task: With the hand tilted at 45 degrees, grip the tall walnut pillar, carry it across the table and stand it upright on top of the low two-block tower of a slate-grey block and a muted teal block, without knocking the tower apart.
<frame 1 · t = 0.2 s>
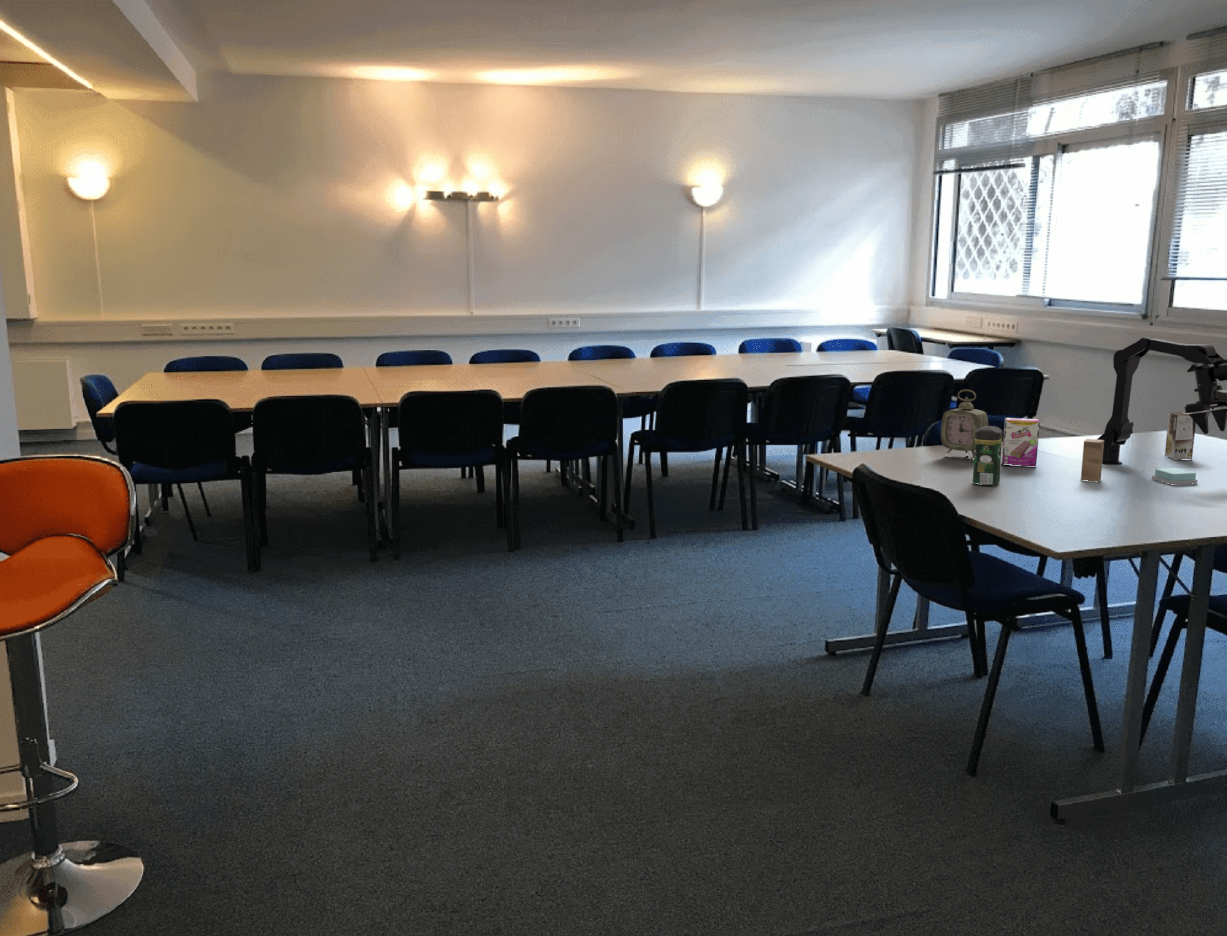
hand: (1214, 432, 309), 15 cm above the table, tool pointing down, fingers open, 9 cm apart
coffee jar: (985, 484, 313), on the table
tower top block: (1174, 477, 311), point 1 cm above the table, touching tower base block
walnut pillar: (1090, 480, 315), on the table
tower base block: (1173, 484, 311), on the table, touching tower top block
tabletop clock: (963, 458, 354), on the table
coffee box: (1178, 458, 347), on the table
candy bar box: (1018, 466, 339), on the table
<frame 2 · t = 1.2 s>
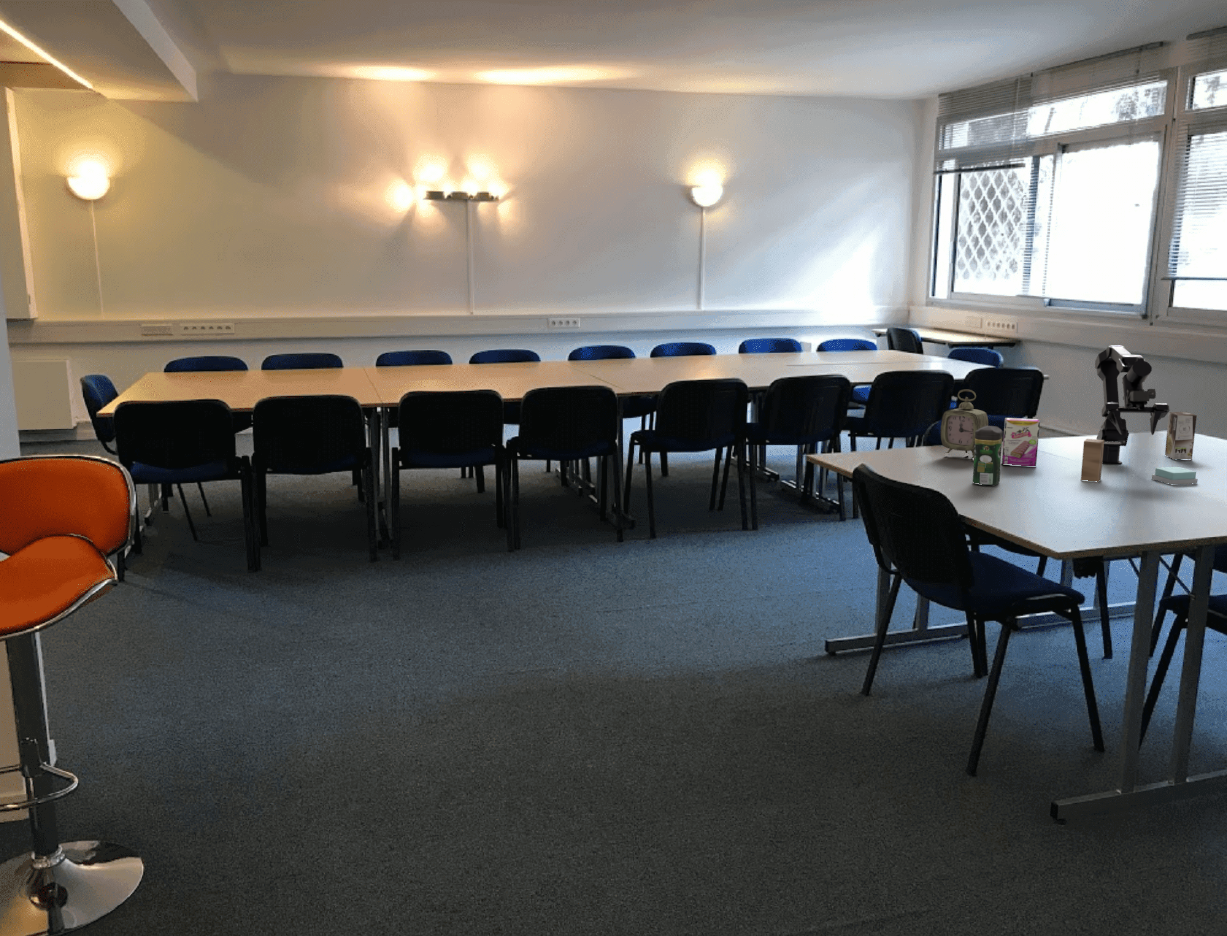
hand: (1137, 434, 312), 15 cm above the table, tool tilted 35°, fingers open, 9 cm apart
tower top block: (1174, 476, 311), point 2 cm above the table
tower base block: (1173, 483, 311), on the table
everything else where it was.
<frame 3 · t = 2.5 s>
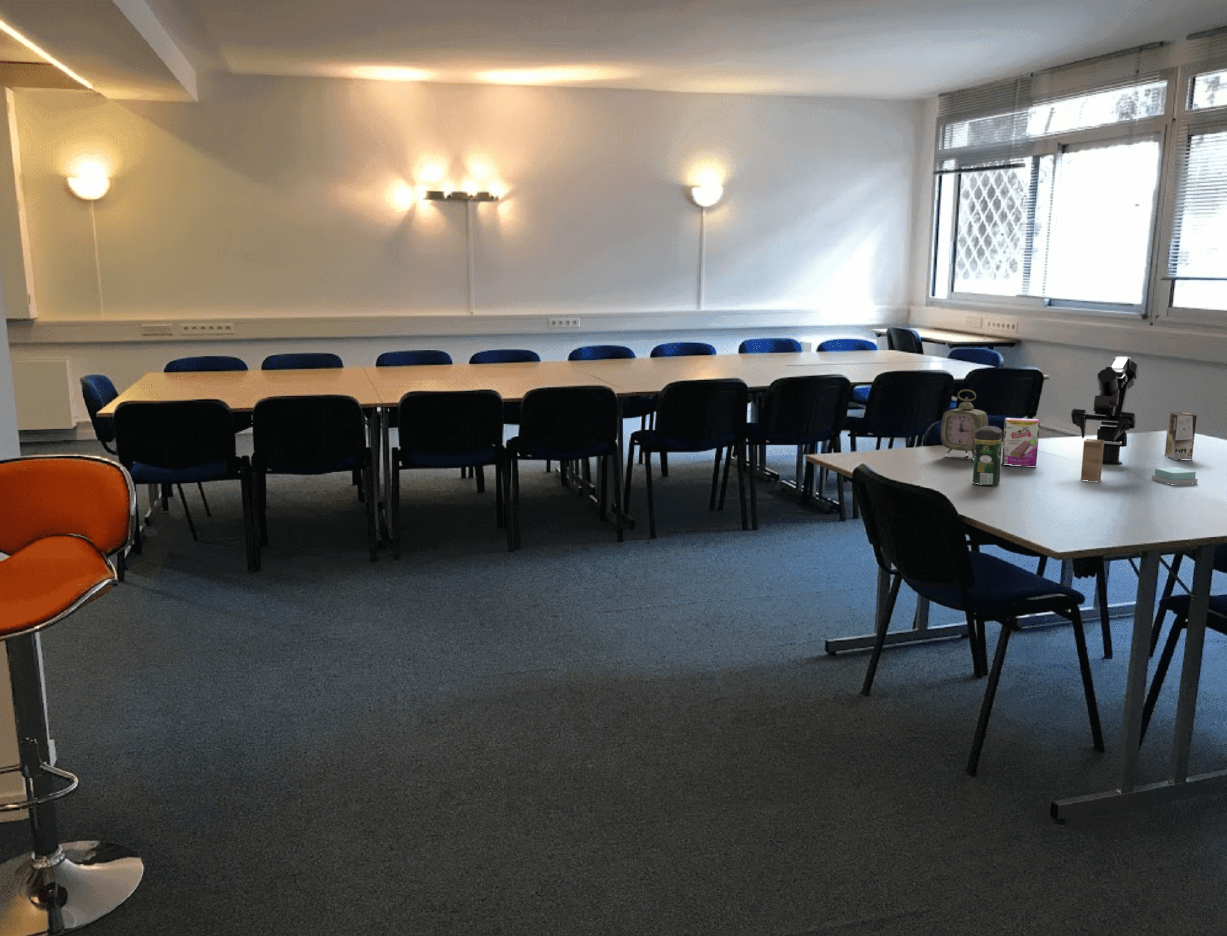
hand: (1097, 438, 318), 13 cm above the table, tool tilted 45°, fingers open, 9 cm apart
tower top block: (1174, 476, 311), point 2 cm above the table, touching tower base block
tower base block: (1173, 483, 311), on the table, touching tower top block
everything else where it was.
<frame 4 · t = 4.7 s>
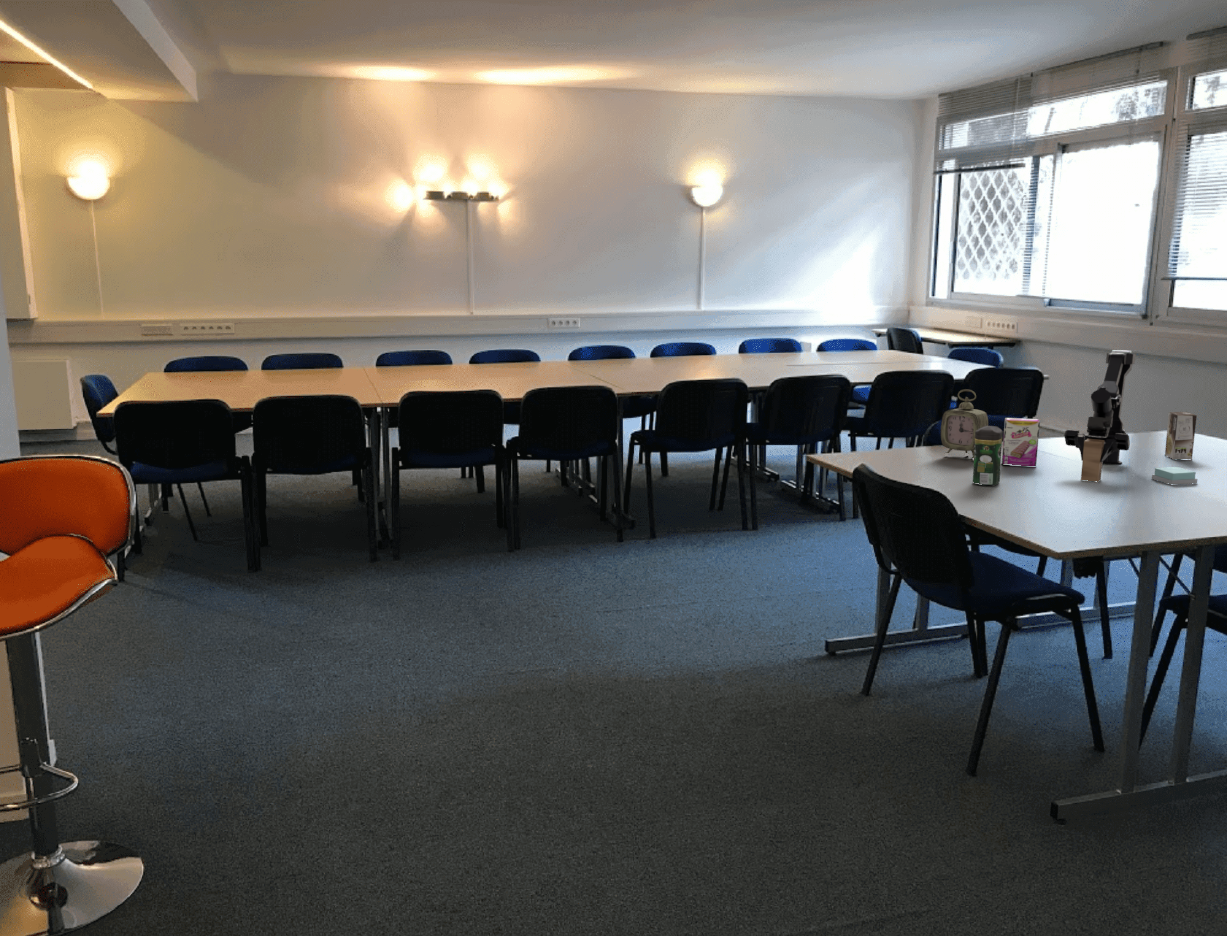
hand: (1091, 460, 313), 7 cm above the table, tool tilted 45°, fingers closed on walnut pillar, 5 cm apart
walnut pillar: (1090, 480, 315), on the table, touching gripper
everything else where it was.
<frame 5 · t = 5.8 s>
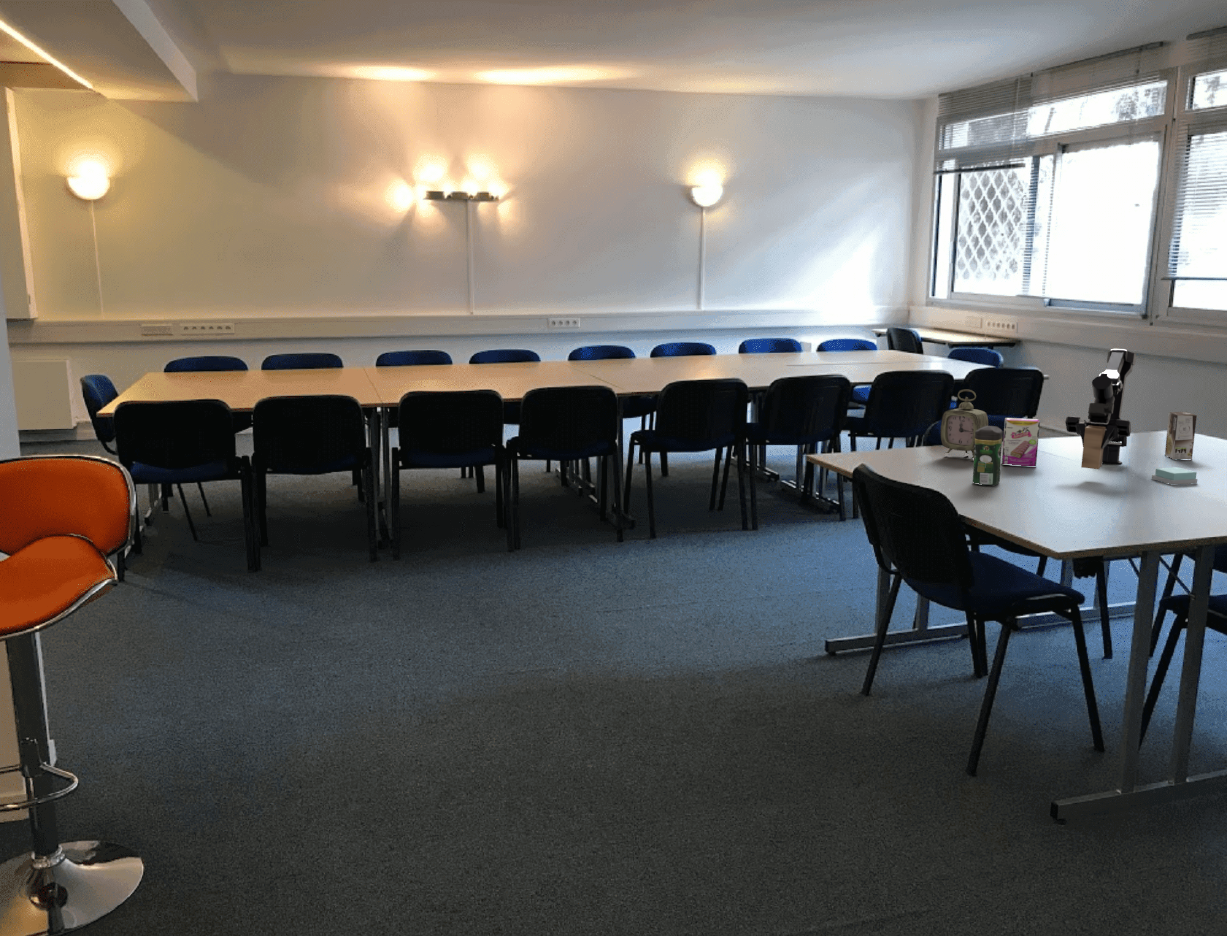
hand: (1092, 447, 312), 11 cm above the table, tool tilted 45°, fingers closed on walnut pillar, 5 cm apart
walnut pillar: (1091, 466, 314), point 4 cm above the table, touching gripper
everything else where it was.
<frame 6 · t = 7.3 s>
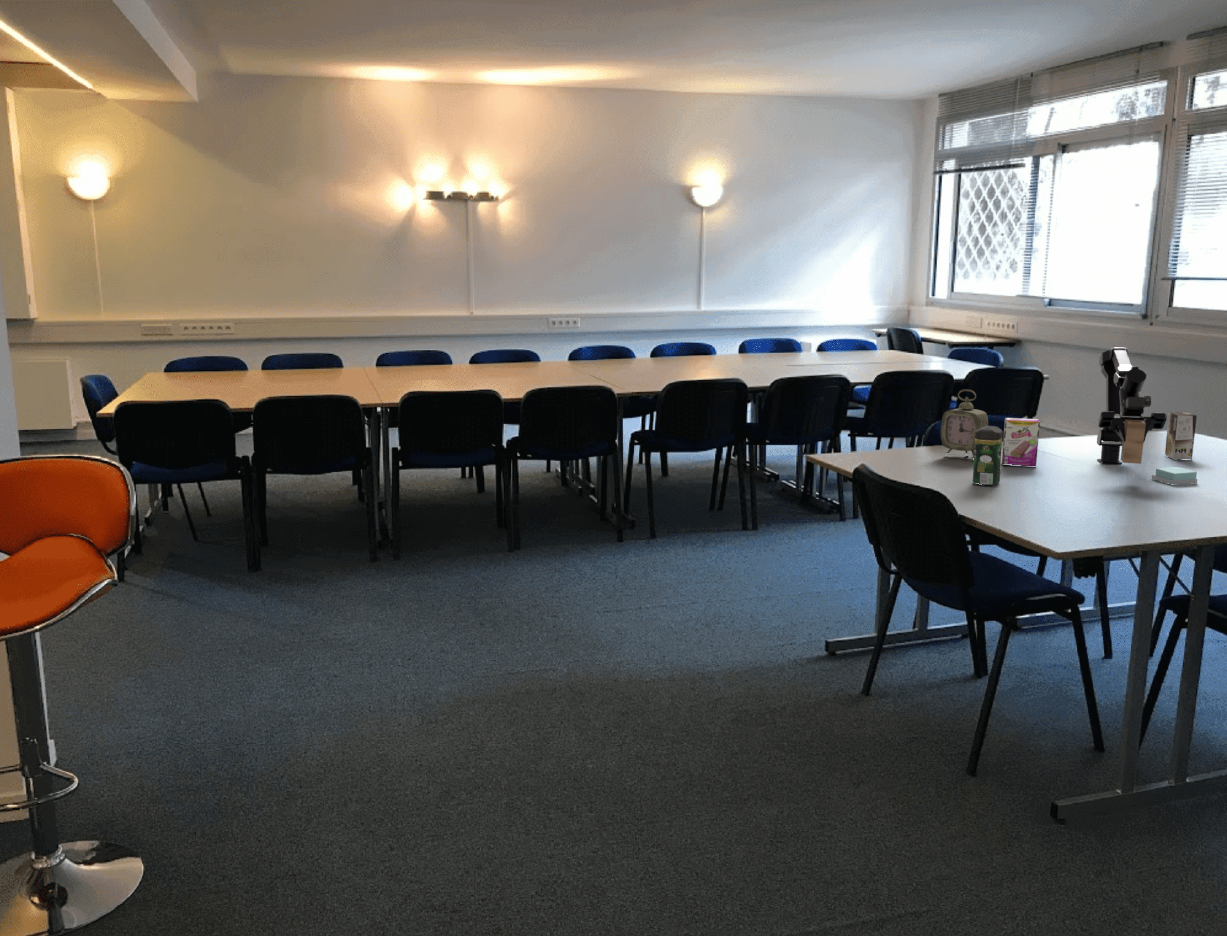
hand: (1134, 441, 307), 13 cm above the table, tool tilted 45°, fingers closed on walnut pillar, 5 cm apart
walnut pillar: (1130, 461, 310), point 7 cm above the table, touching gripper
everything else where it was.
when the fingers open (12 cm above the table, at t = 9.7 s): walnut pillar drops 2 cm, resting on tower top block.
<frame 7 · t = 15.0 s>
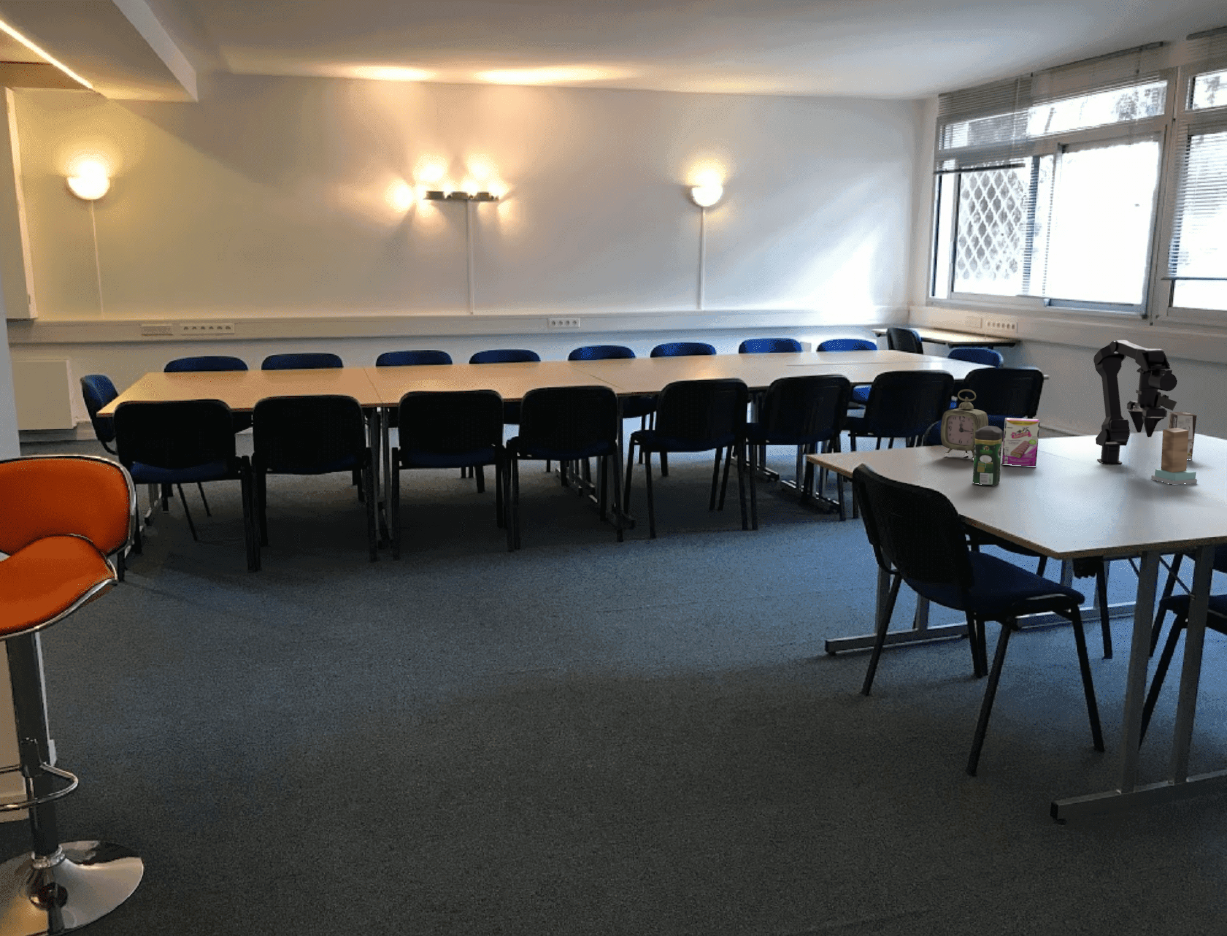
hand: (1144, 434, 321), 13 cm above the table, tool pointing down, fingers open, 9 cm apart
tower top block: (1174, 477, 311), point 1 cm above the table, touching tower base block, walnut pillar
walnut pillar: (1173, 470, 310), point 4 cm above the table, touching tower top block
everything else where it was.
at the end: walnut pillar 0.3 cm off-centre on the tower base block, point 4.6 cm above the tower base block's base; walnut pillar tilted 4°; tower top block 0.4 cm off-centre on the tower base block, point 2.2 cm above the tower base block's base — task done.
